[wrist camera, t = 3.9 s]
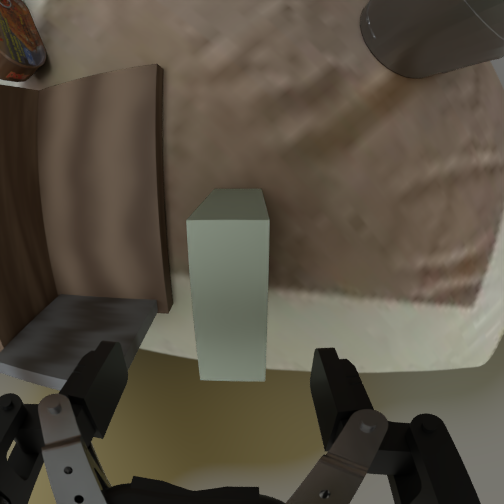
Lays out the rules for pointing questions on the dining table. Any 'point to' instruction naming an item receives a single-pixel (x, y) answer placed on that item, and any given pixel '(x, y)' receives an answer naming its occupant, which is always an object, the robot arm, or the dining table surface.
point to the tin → (18, 42)
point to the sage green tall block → (230, 283)
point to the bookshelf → (80, 221)
